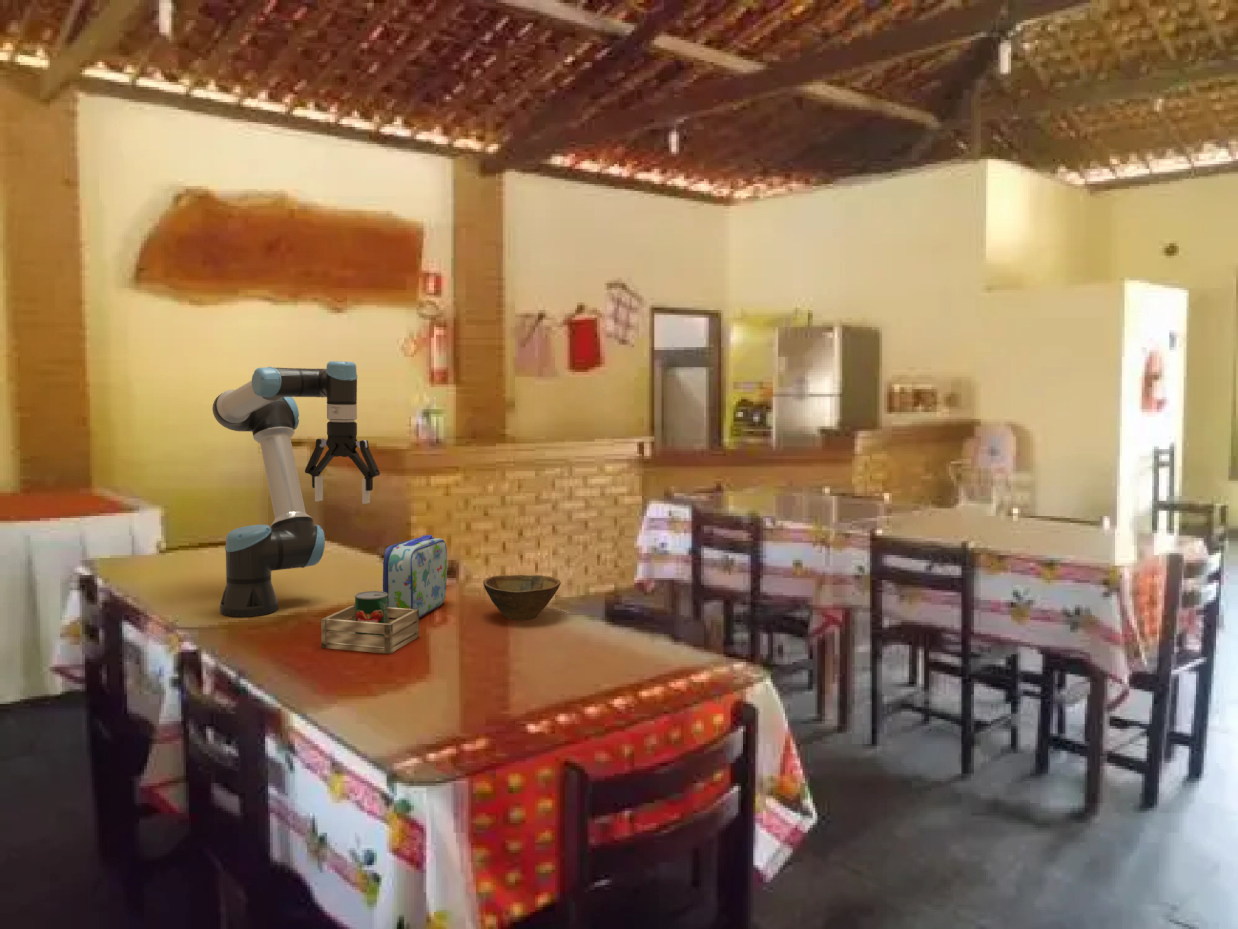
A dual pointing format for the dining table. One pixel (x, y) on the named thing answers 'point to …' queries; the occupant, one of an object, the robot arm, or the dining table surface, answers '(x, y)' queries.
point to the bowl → (521, 594)
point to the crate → (369, 631)
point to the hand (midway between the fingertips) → (342, 502)
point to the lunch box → (416, 574)
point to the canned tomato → (371, 608)
